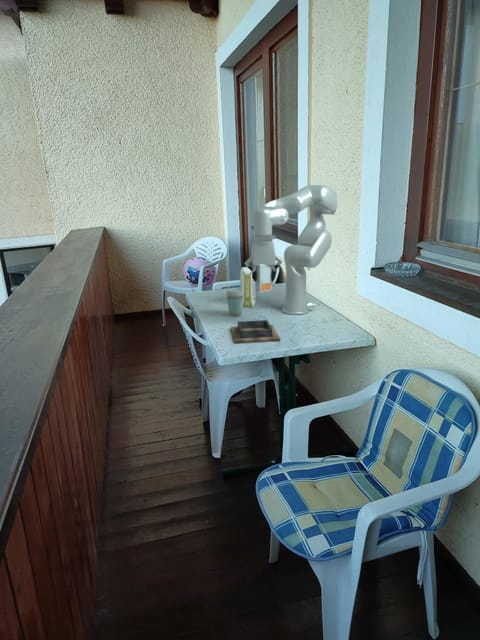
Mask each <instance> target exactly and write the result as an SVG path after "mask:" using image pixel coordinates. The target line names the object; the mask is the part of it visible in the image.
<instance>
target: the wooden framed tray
mask: <svg viewBox="0 0 480 640" xmlns="http://www.w3.org/2000/svg"><path fill="white" fill-rule="evenodd" d="M230 331H231V334H232V338H233V342H234V344H235V345H236V344H251V343H252V344H253V343H267V342H268V343H269V342H270V343H271V342H281V337H280V335H279V334H278V332H277V330H276V328H275V326H274V325H273V324H270V322H269V321H268V319H263V320H261V319H260V320H259V319H258V320H243V321H237V326H236V325H235V326H230Z"/></svg>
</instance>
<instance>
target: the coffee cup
mask: <svg viewBox="0 0 480 640" xmlns="http://www.w3.org/2000/svg"><path fill="white" fill-rule="evenodd" d="M225 296H226V300H227V306H228V307H227V308H228V312H229V317H234V318H236V317H241V316H242V315H243V308H244V307H243V297H244V292H243V290H242V289H240V288H230V289H229V288H228V289H227V290H226V292H225Z"/></svg>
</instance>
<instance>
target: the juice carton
mask: <svg viewBox="0 0 480 640" xmlns="http://www.w3.org/2000/svg"><path fill="white" fill-rule="evenodd" d="M239 289H242V290H243V292H244V297H243V308H247V307H249V308H254V307H255V304H256V300H257V291H256V290H255V282H254V279H252V271H251V270H250V269H249V268H248V267H247V266H244V267H243V266H242V267H241V269H240V271H239Z"/></svg>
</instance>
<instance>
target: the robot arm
mask: <svg viewBox="0 0 480 640" xmlns="http://www.w3.org/2000/svg"><path fill="white" fill-rule="evenodd" d="M336 193H337V192H336V191H334V190H333V188H332V187H329V186H327V185H325V184H309V185H306V186H303V187H302V188H300V189H298V190H297V191H295V192H293V193H291V194H289V195H286V196H284V197H280V198H277V199H273V200H271V201H268V202H266V203H265V204H263V205H261V206H260V207H259V208H256V209H254V210H253V241H252V242H251V249H250V257H249V258H248V259H247V260H246V261H245V262H244V265H245V267H248V268H249V269H250V270H251V271H252V279H254V282H255V281H256V272H255V270H256V268H257V266H259V265H267V266H271V268H272V282H273V281H274V279H275V278H276V270H278V269H279V267H280V265H282V263H283V260H284V265H285V306H283V307H282V309H281V310H282V312H283V313H284V314H288V315H293V316H294V315H296V316H299V315H305V314H308V312H309V311H310V310H309V308H316V306H317V305H316V303H315V302H307V272H306V270H305V268H307V269H315V268H317V267H318V266H319V265H320V263H321V262H322V260H323V259H324V258H325V256H326V254H327V253H328V251H329V250H330V248H331V245H332V242H333V241H332V240H333V237H332V234H331V232H329V231H328V230H326V221H325V219H324V215H335V214H334V213H335V212H336V209H337V194H338V193H337V194H336ZM307 208H308V209H309V211H308V212H309V220H308V222H307V223H306V225H305V227H304V228H303V229H302V231H301V233H300V234H299V236H298V238H297V244H292V245H291V244H290V245H289V246H287V247H286V248H285V250H284V252H283V260H281V259H280V258H278V257H277V256H276V250H275V249H276V248H275V243H274V241H273V240H276V235H273V226H274V225H275V226H282V225H285V224H286V223H287V221H289V219H290V218H289V217H290V216H289V215H294V214H295V215H296V214H299V213H300V212H302V211H304V210H305V209H307ZM276 262H277V263H276ZM250 263H251V264H252V265H250Z"/></svg>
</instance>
